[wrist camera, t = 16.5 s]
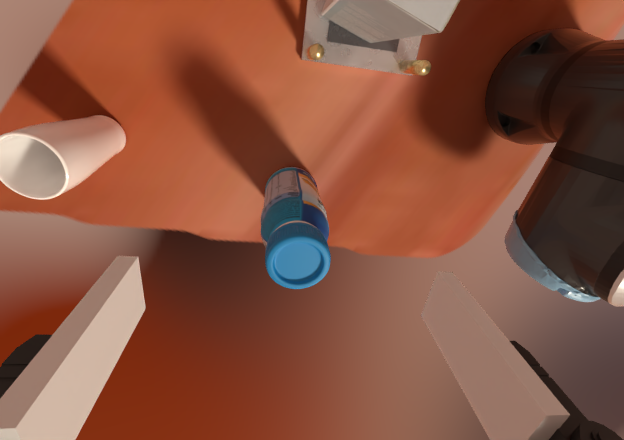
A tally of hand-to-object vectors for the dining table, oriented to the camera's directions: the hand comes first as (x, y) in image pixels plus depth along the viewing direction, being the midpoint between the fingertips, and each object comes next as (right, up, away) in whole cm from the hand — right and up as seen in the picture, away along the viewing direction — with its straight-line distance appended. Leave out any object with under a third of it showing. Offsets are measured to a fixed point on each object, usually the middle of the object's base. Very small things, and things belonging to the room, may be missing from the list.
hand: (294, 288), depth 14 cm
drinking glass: (-27, +15, +29) cm, 42 cm away
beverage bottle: (-3, +8, +35) cm, 36 cm away
